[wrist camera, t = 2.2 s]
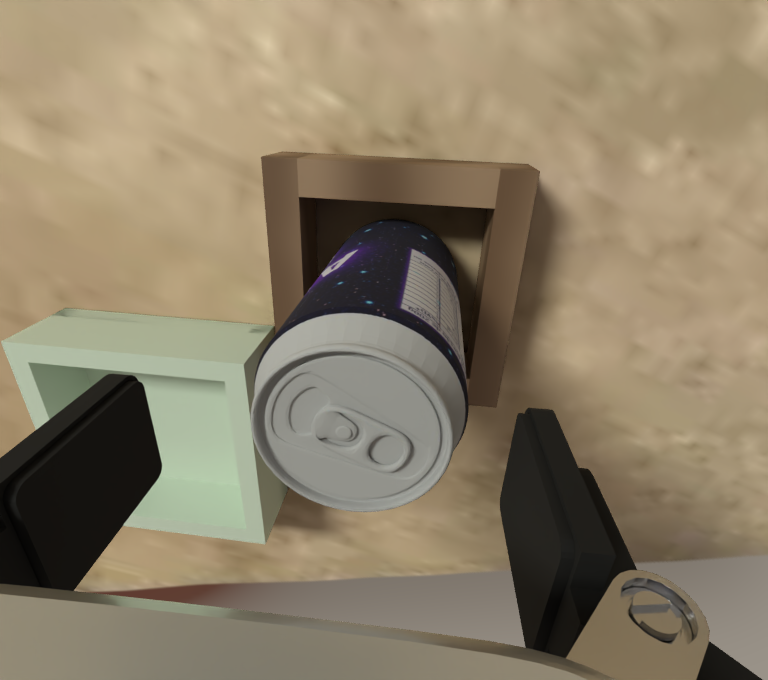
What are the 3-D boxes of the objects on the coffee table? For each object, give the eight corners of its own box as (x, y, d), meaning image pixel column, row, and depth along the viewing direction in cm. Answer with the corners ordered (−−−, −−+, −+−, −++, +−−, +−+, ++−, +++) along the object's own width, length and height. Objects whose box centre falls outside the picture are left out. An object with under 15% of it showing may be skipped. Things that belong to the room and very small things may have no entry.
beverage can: (367, 192, 20) (278, 285, 9) (479, 250, 20) (521, 403, 10) (319, 298, 22) (207, 467, 12) (420, 347, 23) (402, 552, 12)
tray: (273, 325, 23) (243, 364, 20) (287, 490, 28) (265, 544, 25) (65, 308, 24) (0, 341, 21) (116, 470, 29) (71, 519, 26)
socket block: (528, 164, 18) (539, 171, 16) (491, 379, 23) (496, 407, 21) (282, 151, 19) (261, 156, 17) (294, 361, 24) (279, 386, 22)
